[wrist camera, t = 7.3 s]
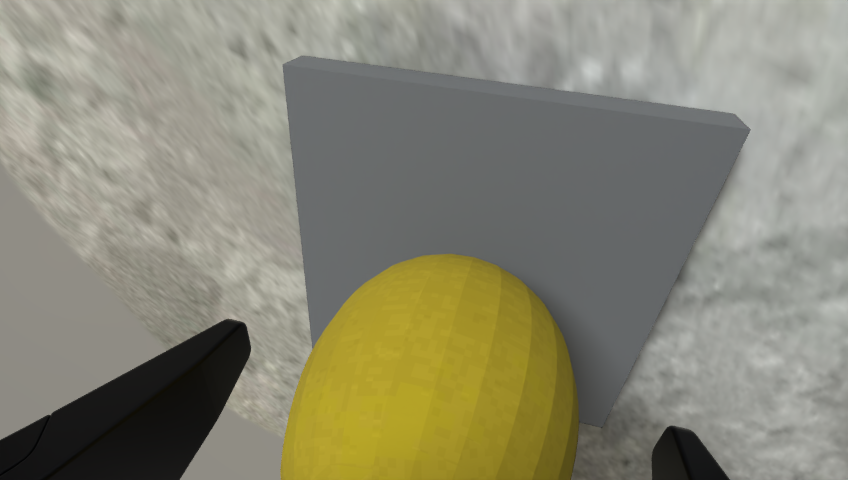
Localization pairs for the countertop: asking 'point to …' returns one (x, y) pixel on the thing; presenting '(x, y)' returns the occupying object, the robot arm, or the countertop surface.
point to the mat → (505, 196)
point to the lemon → (436, 382)
